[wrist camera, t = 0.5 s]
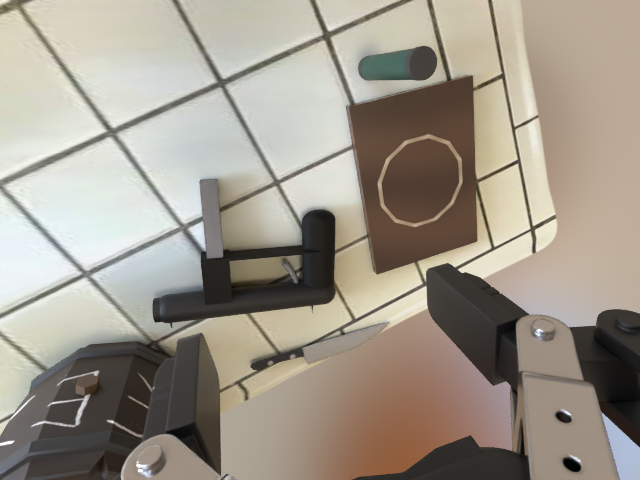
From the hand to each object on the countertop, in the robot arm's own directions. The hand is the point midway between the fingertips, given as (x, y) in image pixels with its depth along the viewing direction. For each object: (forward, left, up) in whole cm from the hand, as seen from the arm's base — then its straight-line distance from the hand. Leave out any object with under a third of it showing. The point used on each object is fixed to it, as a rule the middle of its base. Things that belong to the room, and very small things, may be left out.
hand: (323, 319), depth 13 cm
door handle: (+9, -3, -28) cm, 30 cm away
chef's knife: (+26, +2, -28) cm, 38 cm away
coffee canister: (+22, -22, -28) cm, 42 cm away
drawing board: (+7, +18, -28) cm, 34 cm away
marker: (-6, +14, -28) cm, 32 cm away
